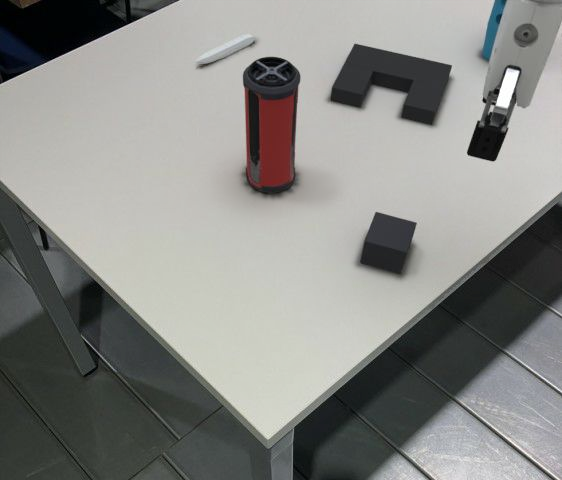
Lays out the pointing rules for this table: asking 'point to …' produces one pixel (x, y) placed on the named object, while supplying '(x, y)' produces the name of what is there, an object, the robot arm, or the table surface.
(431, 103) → the base pad
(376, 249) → the plug pad
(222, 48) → the pen
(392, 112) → the table surface
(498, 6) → the block
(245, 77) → the speaker
